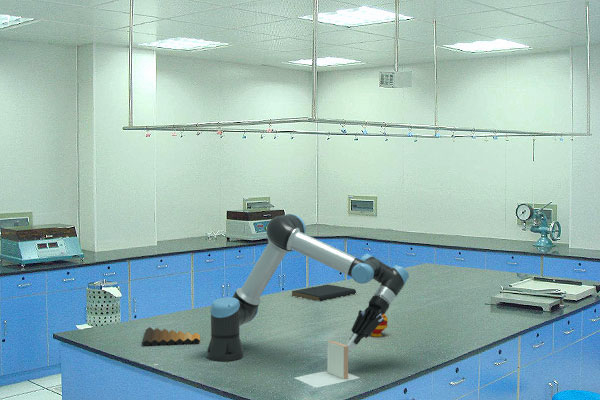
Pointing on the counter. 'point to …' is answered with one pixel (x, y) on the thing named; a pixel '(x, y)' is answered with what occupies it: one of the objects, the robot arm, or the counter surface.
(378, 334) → the potion bottle
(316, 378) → the white rectangular board
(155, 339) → the pan flute
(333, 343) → the terracotta tile
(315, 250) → the robot arm
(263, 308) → the counter surface
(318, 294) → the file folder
